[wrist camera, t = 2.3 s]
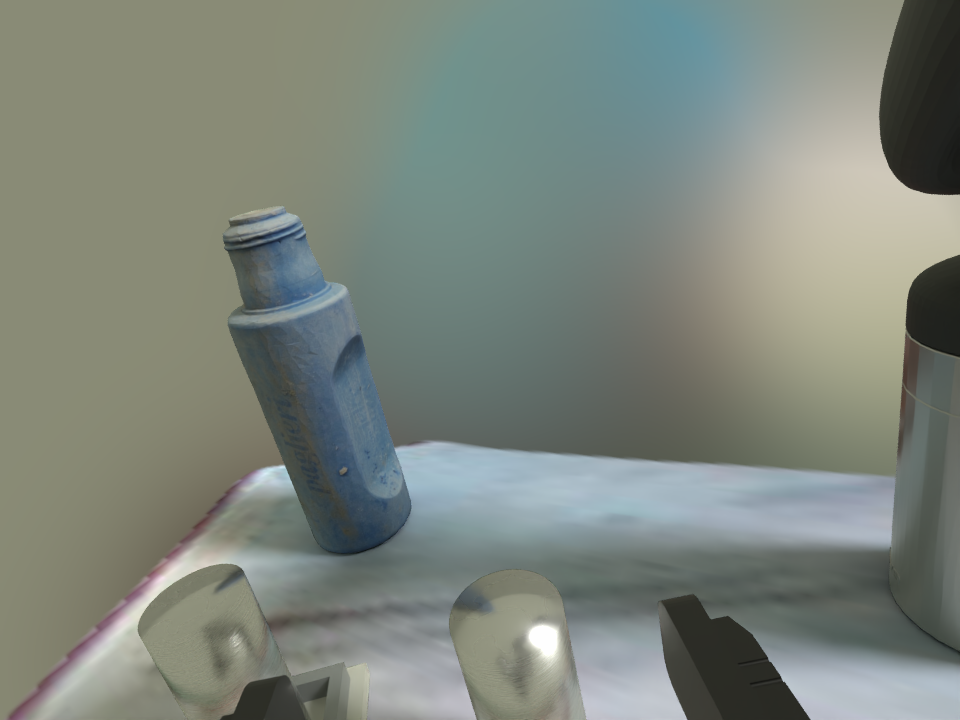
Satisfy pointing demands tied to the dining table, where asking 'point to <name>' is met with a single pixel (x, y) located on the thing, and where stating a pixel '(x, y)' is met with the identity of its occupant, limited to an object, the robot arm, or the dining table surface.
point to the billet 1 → (211, 641)
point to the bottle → (314, 384)
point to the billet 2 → (516, 649)
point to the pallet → (335, 692)
